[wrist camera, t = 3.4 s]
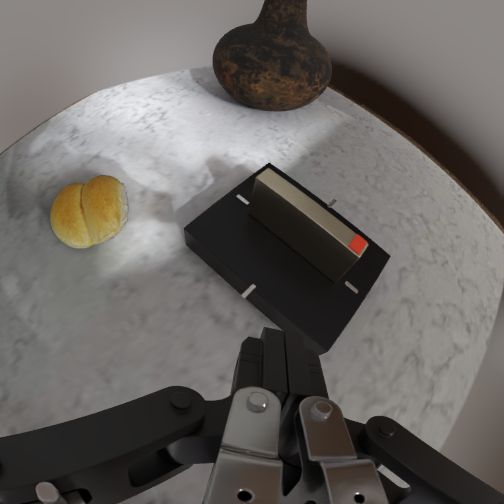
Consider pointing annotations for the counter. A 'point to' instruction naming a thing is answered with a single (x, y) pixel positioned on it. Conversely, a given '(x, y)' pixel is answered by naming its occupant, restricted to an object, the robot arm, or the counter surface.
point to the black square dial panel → (282, 267)
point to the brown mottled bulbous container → (273, 59)
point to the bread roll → (90, 212)
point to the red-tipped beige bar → (305, 225)
